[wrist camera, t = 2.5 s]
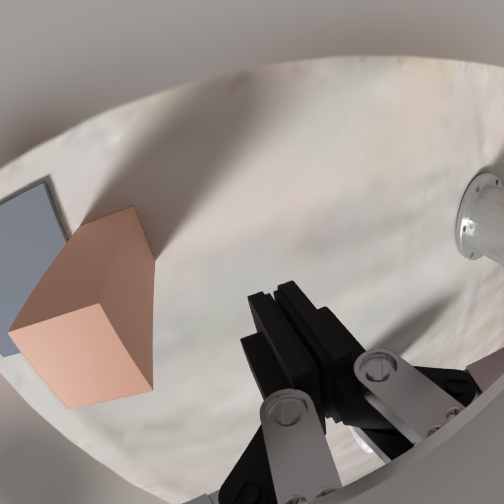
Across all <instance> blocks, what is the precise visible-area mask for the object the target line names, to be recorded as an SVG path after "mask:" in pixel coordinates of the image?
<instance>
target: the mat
mask: <svg viewBox="0 0 504 504" xmlns="http://www.w3.org/2000/svg"><path fill="white" fill-rule="evenodd" d="M67 242H68V239H67V236H66V234H65V231H64V229H63V227H62V224H61V222H60V219H59V217H58V214H57V211H56V209H55V206H54V203H53V201H52V198H51V195H50V192H49V190H48V187H47V184H46V182H44V183H42V184H40V185H38V186H36V187H34V188H32V189H30V190H28V191H26V192H24V193H22V194H20V195H18V196H17V197H15V198H13V199H11V200H9V201H7V202H6V203H4V204H2V205H0V354H1V355H2V356H3V357H6V356H10V355H14V354H17V353H21V352H20V350H19V349H18V347H17V346H16V345H15V343H14V342H13V340H12V339H11V337H10V336H9V334H8V333H7V332H8V331H9V329H10V327H11V325H12V324H13V322H14V320H15V319H16V317H17V315H18V313H19V312H20V310H21V309H22V307H23V305H24V304H25V302H26V300H27V299H28V297H29V296H30V294H31V293H32V291H33V290H34V288H35V287H36V285H37V284H38V282H39V281H40V279H41V278H42V276H43V275H44V273H45V272H46V270H47V269H48V268H49V266H50V265H51V263H52V262H53V260H54V259H55V258H56V256H57V255H58V254H59V252H60V251H61V250H62V248H63V247H64V246H65V244H66V243H67Z"/></svg>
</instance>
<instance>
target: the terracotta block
mask: <svg viewBox="0 0 504 504" xmlns="http://www.w3.org/2000/svg"><path fill="white" fill-rule="evenodd" d="M154 274H155V259H154V257H153V254H152V251H151V249H150V246H149V244H148V241H147V238H146V236H145V233H144V230H143V228H142V225H141V222H140V219H139V217H138V214H137V211H136V208H135V205H134V206H131V207H129V208H126V209H123V210H120V211H118V212H115V213H112V214H110V215H107V216H104V217H102V218H99V219H96V220H94V221H91V222H89V223H86V224H84V225H81V226H79V228H78V229H77V230H76V231H75V233H74V234H73V235H72V236H71V238H70V239H69V240H68V242H67V243H66V244H65V246H64V247H63V248H62V250H61V251H60V252H59V254H58V255H57V256H56V258H55V259H54V260H53V262H52V263H51V265H50V266H49V268H48V269H47V270H46V272H45V273H44V275H43V276H42V278H41V279H40V281H39V282H38V284H37V285H36V287H35V288H34V290H33V291H32V293H31V294H30V296H29V297H28V299H27V300H26V302H25V304H24V305H23V307H22V309H21V310H20V312H19V313H18V315H17V317H16V319H15V320H14V322H13V324H12V325H11V327H10V329H9V331H8V332H7V333H8V334H9V336H10V337H11V339H12V340H13V342H14V343H15V345H16V346H17V347H18V349H19V350H20V352H21V353H22V354H23V356H24V357H25V358H26V360H27V361H28V362H29V364H30V365H31V366H32V368H33V369H34V370H35V371H36V373H37V374H38V375H39V376H40V378H41V379H42V380H43V381H44V383H45V384H46V385H47V386H48V387H49V389H50V390H51V391H52V392H53V393H54V394H55V395H56V397H57V398H58V399H59V400H60V401H61V402H62V403H63V404H64V405H65V407H66V408H72V407H78V406H84V405H89V404H95V403H100V402H105V401H110V400H115V399H119V398H124V397H128V396H133V395H137V394H141V393H145V392H149V391H153V351H152V340H153V295H154Z"/></svg>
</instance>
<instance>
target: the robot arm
mask: <svg viewBox="0 0 504 504" xmlns="http://www.w3.org/2000/svg"><path fill="white" fill-rule="evenodd" d="M456 239H457V245H458V248H459V251H460V252H461V254H462V255H463V256H464V257H466V258H468V259H470V260H476V259H479V258H480V257H482V256H484V255H485V256H486V257H488V258H490V259H492V260H493V261H495V262H497V263H498V264H500V265H502V266H503V267H504V187H503V185H502V182H501V180H500V179H499V177H497V176H496V175H494V174H492V173H487V172H485V173H482V174H480V175H479V176H477V177H476V178H475V179H474V180H473V181H472V183H471V184H470V186H469V187H468V189H467V191H466V193H465V195H464V197H463V200H462V202H461V206H460V209H459V213H458V218H457V226H456ZM274 298H275V300H274V299H273V297H272V296H271V294H270V293H268V294H264V293H263V292H259V293H256V294H253V295H250V296H248V302H249V305H250V309H251V312H252V316H253V319H254V323H255V326H256V330H257V333H255V334H252V335H250V336H247V337H244V338H241V339H240V341H241V344H242V347H243V350H244V352H245V355H246V358H247V361H248V363H249V366H250V368H251V371H252V373H253V376H254V378H255V381H256V383H257V385H258V388H259V390H260V392H261V395H262V397H263V399H264V402H263V403H262V405H261V408H260V420H261V425H260V427H259V429H258V430H257V432H256V434H255V435H254V437H253V438H252V440H251V442H250V443H249V445H248V446H247V448H246V450H245V451H244V453H243V454H242V456H241V457H240V459H239V461H238V462H237V464H236V465H235V467H234V468H233V470H232V471H231V473H230V474H229V476H228V477H227V479H226V480H225V482H224V483H223V485H222V486H221V488H220V490H218V491H216V492H213V493H211V494H209V495H207V494H204V495H201V496H199V497H197V498H195V499H192V500H190V501H188V502H185V503H183V504H504V348H501V349H499V350H498V351H496V352H494V353H492V354H490V355H488V356H486V357H484V358H482V359H480V360H478V361H476V362H474V363H472V364H470V365H468V366H466V368H465V370H463V371H462V370H456V369H442V368H429V367H418V366H412V365H410V364H409V363H408V362H406V361H405V360H404V359H402V358H401V357H400V356H399V355H397V354H396V353H394V352H392V351H391V350H387V349H372V350H368V351H366V350H365V349H364V348H363V347H362V346H361V345H360V343H359V342H358V341H357V340H356V339H355V338H354V337H353V335H352V334H351V333H350V332H349V331H348V330H347V329H346V327H345V326H344V325H343V324H342V323H341V322H340V321H339V319H338V318H337V317H336V316H335V315H334V314H333V313H332V311H331V310H330V309H329V308H328V307H322V308H320V309H316V307H315V306H314V305H313V304H312V303H311V301H310V300H309V299H308V298H307V297H306V295H305V294H304V293H303V292H302V291H301V289H300V288H299V287H298V286H297V285H296V283H295V282H294V281H289V282H286V283H284V284H281V285H278V290H276V291H274ZM325 417H326V418H327V419H328V418H330V417H332V418H333V420H334V421H335V423H339V422H341V421H342V422H343V424H344V425H348V426H352V427H353V429H354V431H355V432H356V433H357V434H358V435H359V436H360V437H361V438H362V439H363V440H364V441H365V443H366V444H367V445H368V446H369V447H370V448H371V449H372V450H373V451H374V452H375V453H376V454H377V455H378V456H379V457H380V458H381V459H382V460H383V461H384V462H385V463H386V465H384V466H382V467H380V468H379V469H377V470H375V471H373V472H371V473H370V474H368V475H366V476H364V477H362V478H360V479H358V480H356V481H354V482H352V483H350V484H348V485H346V486H344V487H342V484H341V481H340V478H339V475H338V472H337V469H336V466H335V463H334V461H333V458H332V455H331V452H330V449H329V446H328V443H327V441H326V438H325V435H326V424H325Z"/></svg>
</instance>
